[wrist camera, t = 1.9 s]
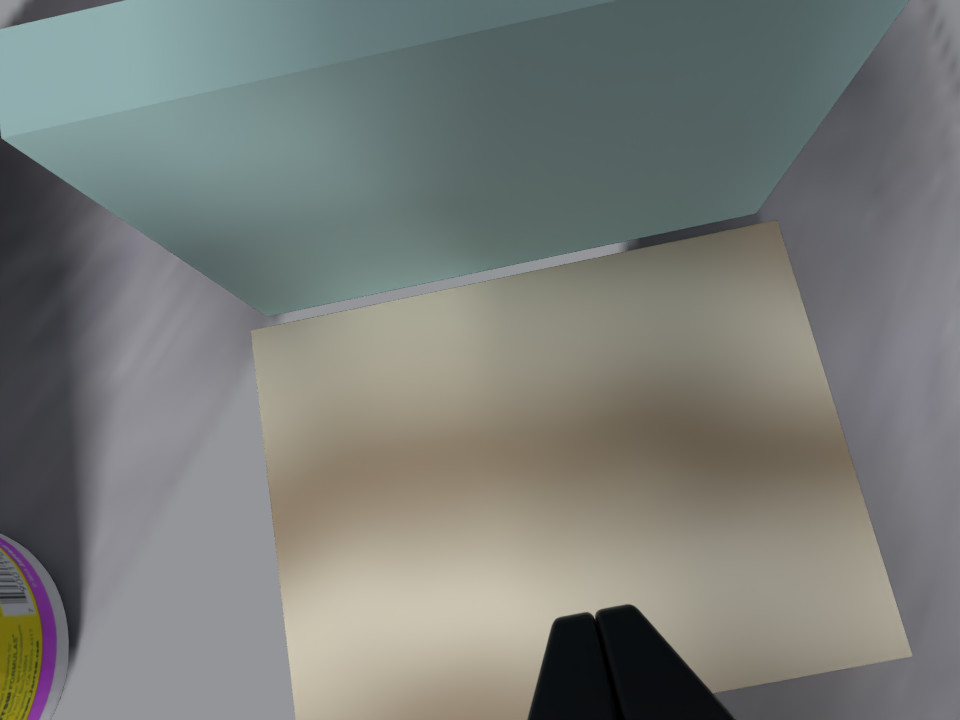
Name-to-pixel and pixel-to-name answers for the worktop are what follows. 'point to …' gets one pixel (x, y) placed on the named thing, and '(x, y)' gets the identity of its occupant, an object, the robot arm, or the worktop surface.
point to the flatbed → (565, 482)
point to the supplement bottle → (30, 637)
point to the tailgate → (422, 125)
